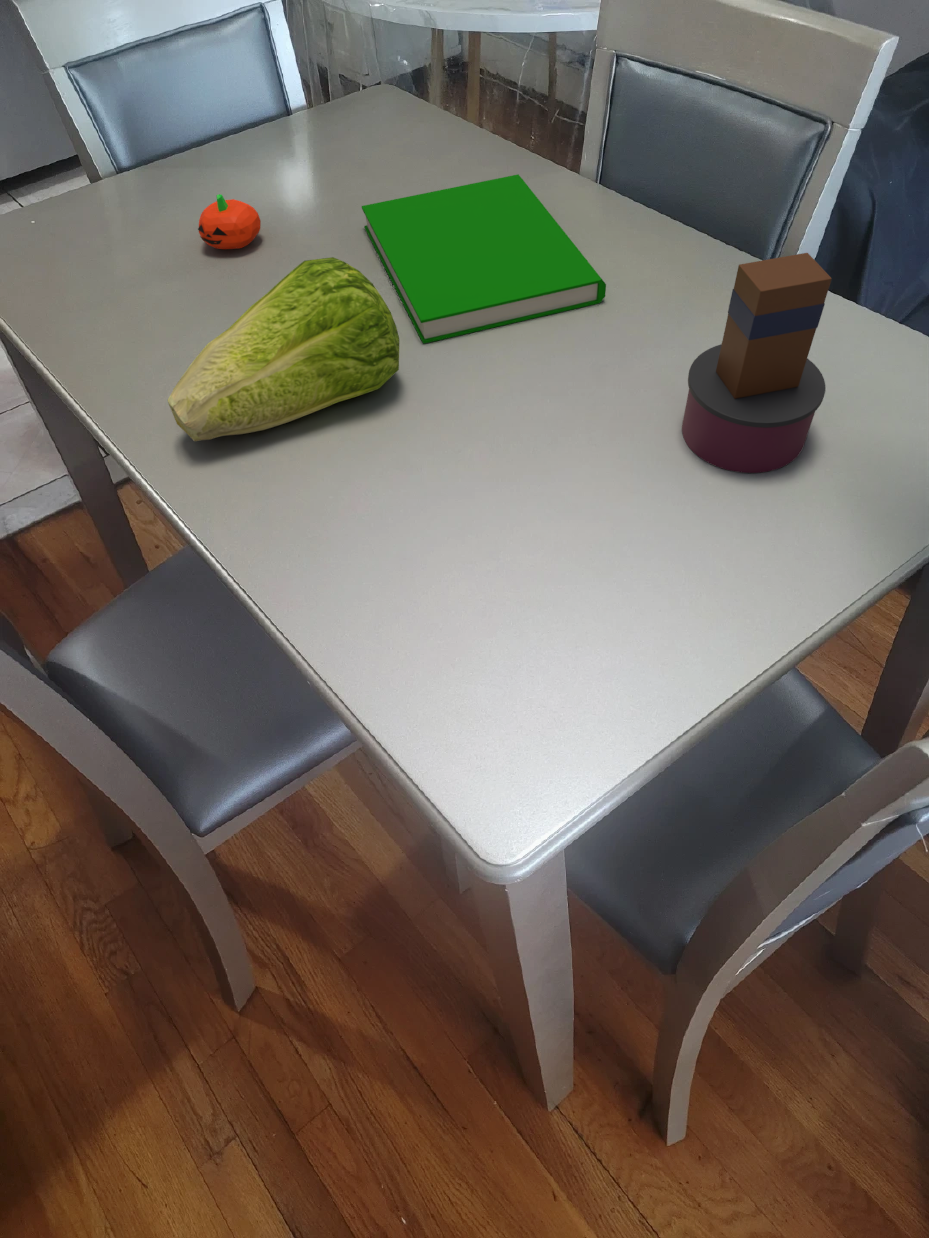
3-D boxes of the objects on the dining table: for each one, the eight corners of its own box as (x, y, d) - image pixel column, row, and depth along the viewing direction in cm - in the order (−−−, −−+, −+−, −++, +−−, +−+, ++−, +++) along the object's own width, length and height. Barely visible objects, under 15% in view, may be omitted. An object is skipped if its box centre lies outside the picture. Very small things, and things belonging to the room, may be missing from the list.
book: (423, 344, 99) (420, 320, 97) (364, 228, 116) (361, 206, 113) (604, 302, 102) (606, 278, 100) (522, 195, 119) (522, 173, 117)
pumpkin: (265, 254, 113) (253, 205, 108) (203, 261, 112) (188, 212, 107) (265, 227, 117) (254, 179, 112) (206, 233, 117) (192, 185, 112)
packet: (777, 359, 84) (808, 251, 75) (799, 387, 81) (833, 278, 72) (714, 371, 83) (737, 264, 75) (734, 399, 80) (760, 291, 72)
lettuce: (232, 505, 88) (183, 439, 97) (427, 383, 93) (363, 330, 101) (163, 397, 77) (114, 333, 86) (388, 264, 82) (320, 217, 90)
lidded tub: (833, 432, 86) (852, 379, 81) (755, 494, 82) (771, 441, 77) (730, 377, 93) (743, 325, 88) (652, 432, 88) (661, 380, 83)
